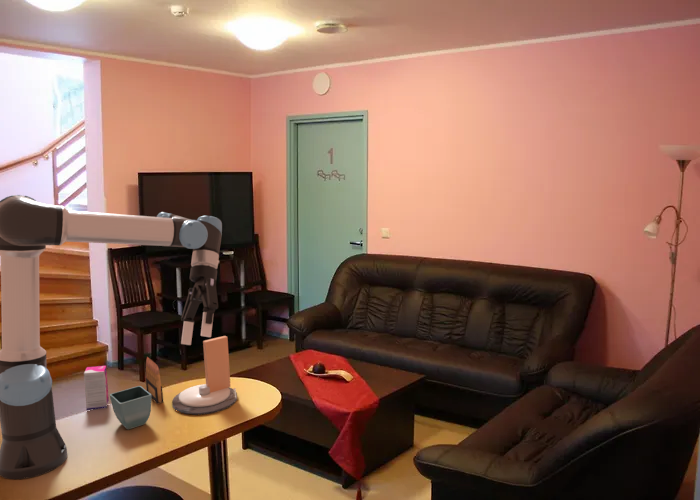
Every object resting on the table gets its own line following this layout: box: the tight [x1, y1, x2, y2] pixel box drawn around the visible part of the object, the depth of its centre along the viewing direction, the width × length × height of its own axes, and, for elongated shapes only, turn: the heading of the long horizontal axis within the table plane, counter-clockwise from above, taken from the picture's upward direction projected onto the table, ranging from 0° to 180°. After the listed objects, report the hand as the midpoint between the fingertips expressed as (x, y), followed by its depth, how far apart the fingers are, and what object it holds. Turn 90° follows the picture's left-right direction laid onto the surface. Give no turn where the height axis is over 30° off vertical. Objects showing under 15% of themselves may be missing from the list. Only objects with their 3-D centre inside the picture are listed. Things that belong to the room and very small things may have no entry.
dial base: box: [171, 386, 238, 416], centre depth 181 cm, size 19×19×4 cm
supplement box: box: [83, 365, 110, 411], centre depth 179 cm, size 6×6×12 cm
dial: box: [178, 335, 231, 407], centre depth 180 cm, size 16×15×17 cm
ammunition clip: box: [145, 356, 164, 405], centre depth 184 cm, size 11×2×12 cm, turn 35°
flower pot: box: [109, 385, 152, 430], centre depth 166 cm, size 9×9×9 cm
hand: (195, 340), depth 166 cm, fingers open, 13 cm apart
